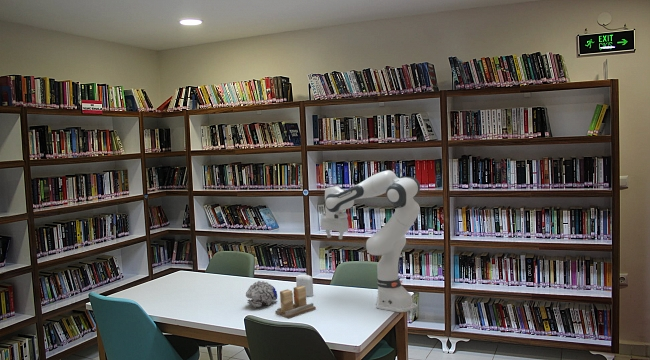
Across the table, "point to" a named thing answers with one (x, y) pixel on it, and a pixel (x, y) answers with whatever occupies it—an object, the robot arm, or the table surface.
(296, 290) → the wooden block
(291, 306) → the wooden block stand
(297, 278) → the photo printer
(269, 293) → the educational model
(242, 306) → the table surface
